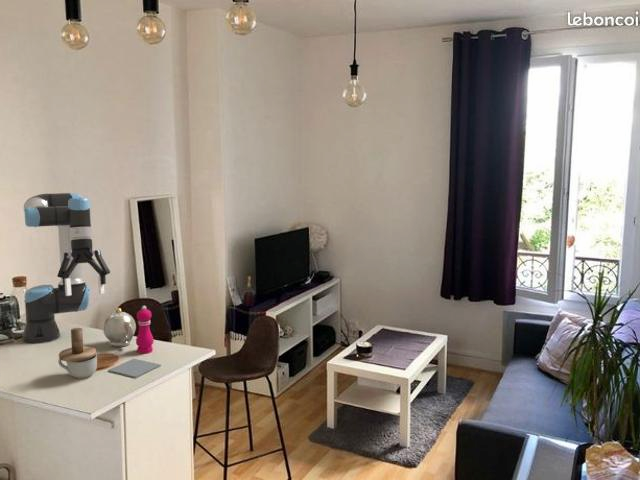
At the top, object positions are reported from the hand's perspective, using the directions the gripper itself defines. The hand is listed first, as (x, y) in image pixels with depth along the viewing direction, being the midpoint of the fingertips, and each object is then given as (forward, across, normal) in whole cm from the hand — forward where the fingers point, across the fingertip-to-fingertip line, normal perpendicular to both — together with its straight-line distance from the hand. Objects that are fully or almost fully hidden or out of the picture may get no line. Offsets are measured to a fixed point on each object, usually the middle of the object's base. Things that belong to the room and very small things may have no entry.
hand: (85, 294), depth 222 cm
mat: (+31, +12, +11) cm, 35 cm away
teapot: (+25, -5, +35) cm, 43 cm away
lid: (+23, -4, -1) cm, 23 cm away
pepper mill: (+28, +8, +30) cm, 41 cm away
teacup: (+31, -5, +1) cm, 31 cm away
